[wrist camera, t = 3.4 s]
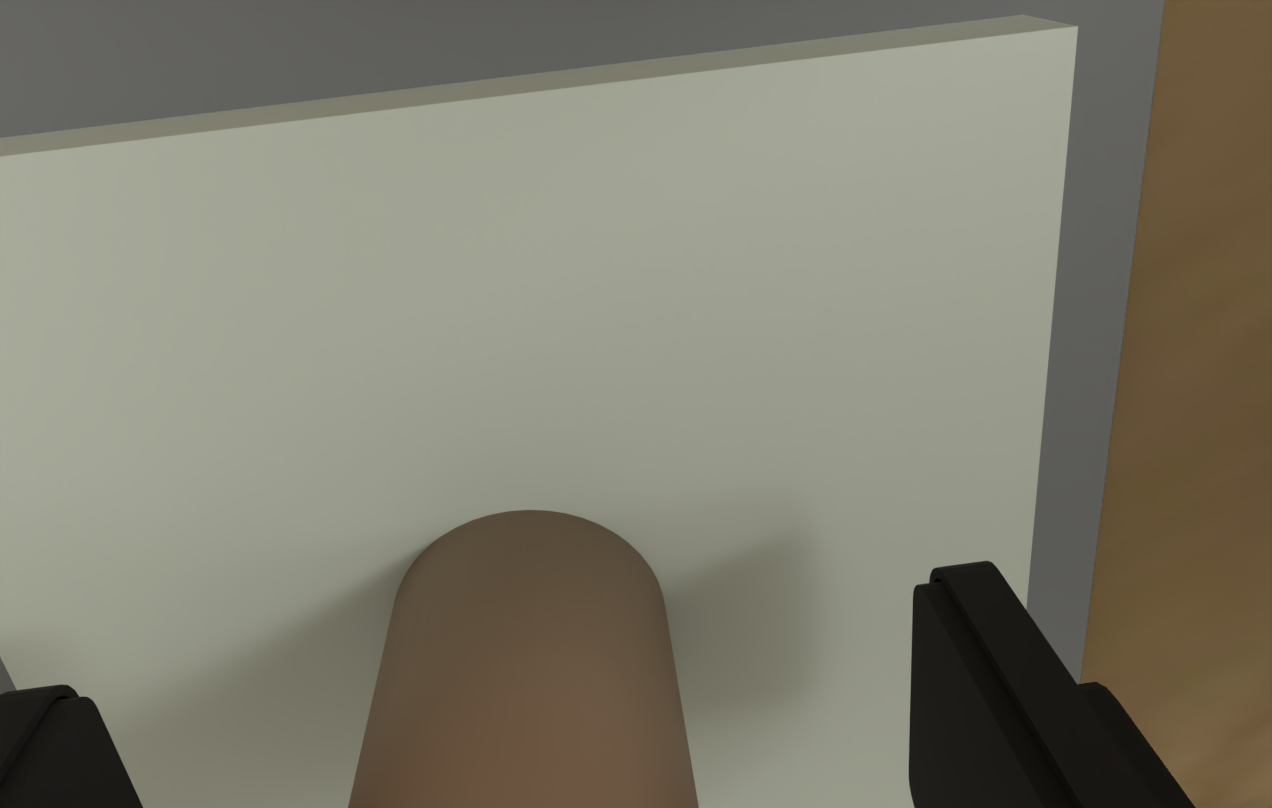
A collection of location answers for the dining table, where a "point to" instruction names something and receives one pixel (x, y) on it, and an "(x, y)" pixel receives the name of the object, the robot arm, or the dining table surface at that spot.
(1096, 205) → the mat
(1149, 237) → the dining table surface
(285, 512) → the lid
